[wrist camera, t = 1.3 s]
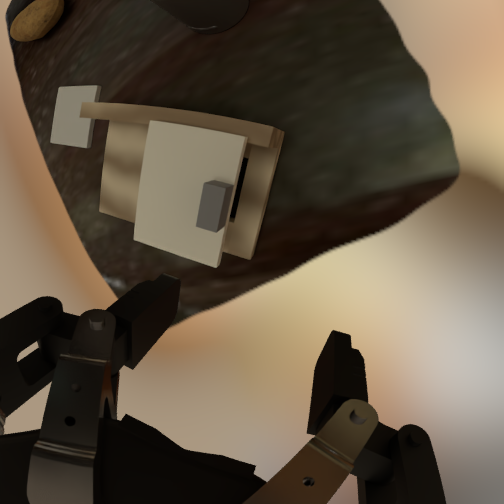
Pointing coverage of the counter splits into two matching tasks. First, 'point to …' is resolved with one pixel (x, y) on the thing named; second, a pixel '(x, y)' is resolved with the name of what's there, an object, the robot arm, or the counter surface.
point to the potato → (36, 19)
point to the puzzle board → (131, 173)
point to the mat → (73, 116)
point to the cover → (187, 189)
